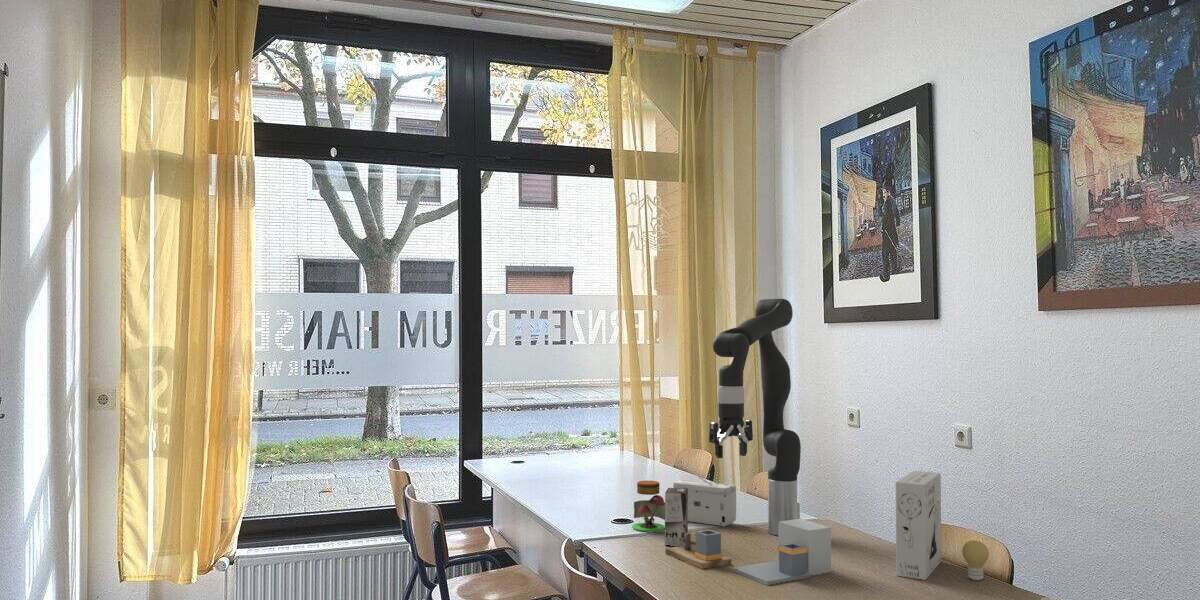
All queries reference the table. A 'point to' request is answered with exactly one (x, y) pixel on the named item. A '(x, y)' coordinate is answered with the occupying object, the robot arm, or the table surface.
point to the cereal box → (918, 524)
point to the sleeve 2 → (792, 559)
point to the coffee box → (676, 516)
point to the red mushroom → (649, 507)
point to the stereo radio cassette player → (709, 501)
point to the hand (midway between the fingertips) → (731, 456)
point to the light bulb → (975, 558)
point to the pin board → (688, 555)
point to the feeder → (801, 534)
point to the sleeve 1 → (708, 545)
